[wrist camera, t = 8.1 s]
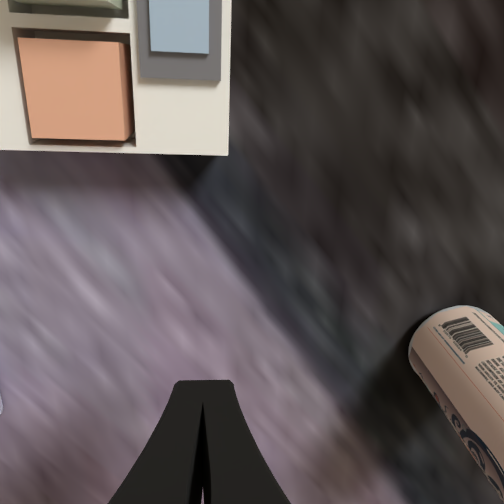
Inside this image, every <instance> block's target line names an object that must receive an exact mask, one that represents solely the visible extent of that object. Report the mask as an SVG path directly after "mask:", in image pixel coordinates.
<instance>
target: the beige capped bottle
mask: <svg viewBox="0 0 504 504" xmlns="http://www.w3.org/2000/svg"><path fill="white" fill-rule="evenodd" d="M408 356H409V362H410V364H411V366H412V368H413V370H414V371H415V372H416V373H417V374H418V375H419V376H420V378H421V379H422V381H423V382H424V384H425V385H426V387H427V388H428V390H429V391H430V393H431V394H432V396H433V397H434V399H435V400H436V402H437V403H438V405H439V406H440V408H441V409H442V411H443V412H444V414H445V415H446V417H447V418H448V420H449V421H450V423H451V424H452V426H453V427H454V429H455V430H456V432H457V433H458V435H459V436H460V438H461V439H462V441H463V442H464V444H465V445H466V447H467V448H468V450H469V451H470V453H471V454H472V456H473V457H474V459H475V460H476V462H477V463H478V465H479V467H480V468H481V470H482V471H483V473H484V474H485V476H486V477H487V479H488V480H489V482H490V483H491V485H492V486H493V488H494V489H495V491H496V492H497V494H498V495H499V497H500V498H501V500H502V501H503V503H504V327H503V326H502V325H501V324H500V323H499V322H498V321H496V320H495V319H494V318H493V317H492V316H491V315H490V314H488V313H487V312H485V311H483V310H482V309H480V308H477V307H473V306H454V307H450V308H446V309H443V310H440V311H438V312H436V313H434V314H433V315H432V316H430V317H429V318H428V319H426V320H425V321H424V322H422V324H421V325H420V326H419V327H418V329H417V330H416V331H415V333H414V335H413V337H412V339H411V341H410V344H409V351H408Z"/></svg>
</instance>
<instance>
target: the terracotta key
mask: <svg viewBox="0 0 504 504" xmlns="http://www.w3.org/2000/svg"><path fill="white" fill-rule="evenodd" d="M17 38H18V37H17ZM18 45H19V52H20V59H21V66H22V73H23V80H24V86H25V93H26V100H27V107H28V114H29V121H30V128H31V135H32V138H52V139H87V140H122V141H125V140H126V139H127V138H128V137H129V136H130V135H131V134H132V133H134V132H135V114H134V97H133V79H132V62H131V45H129V44H124V43H119V42H101V41H80V40H59V39H39V38H18Z"/></svg>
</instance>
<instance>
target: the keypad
mask: <svg viewBox="0 0 504 504" xmlns="http://www.w3.org/2000/svg"><path fill="white" fill-rule="evenodd" d="M122 8H123V10H116V9H98V8H80V7H62V6H44V5H26V4H23V3H20V2H17V1H13V0H0V150H28V151H67V152H106V153H144V154H183V155H222V156H228V135H229V88H230V41H231V0H122ZM17 37H18V38H39V39H59V40H80V41H101V42H119V43H124V44H129V45H131V62H132V79H133V97H134V114H135V132H134V133H132V134H131V135H130V136H129V137H128V138H127V139H126V140H125V141H122V140H87V139H52V138H32V135H31V128H30V121H29V114H28V107H27V100H26V93H25V86H24V80H23V73H22V66H21V59H20V52H19V45H18V38H17Z"/></svg>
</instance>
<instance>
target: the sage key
mask: <svg viewBox="0 0 504 504" xmlns="http://www.w3.org/2000/svg"><path fill="white" fill-rule="evenodd" d="M13 1H17V2H20V3H23V4H26V5H44V6H62V7H80V8H98V9H116V10H123V8H122V0H13Z"/></svg>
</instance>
